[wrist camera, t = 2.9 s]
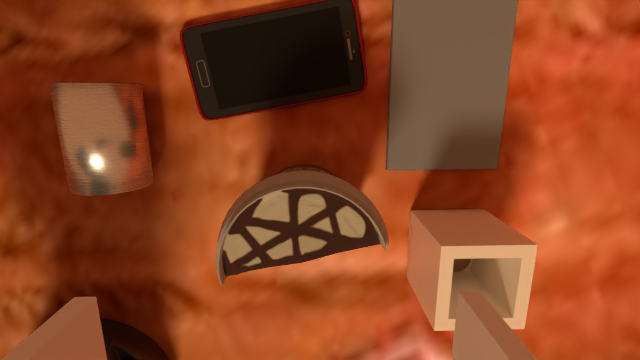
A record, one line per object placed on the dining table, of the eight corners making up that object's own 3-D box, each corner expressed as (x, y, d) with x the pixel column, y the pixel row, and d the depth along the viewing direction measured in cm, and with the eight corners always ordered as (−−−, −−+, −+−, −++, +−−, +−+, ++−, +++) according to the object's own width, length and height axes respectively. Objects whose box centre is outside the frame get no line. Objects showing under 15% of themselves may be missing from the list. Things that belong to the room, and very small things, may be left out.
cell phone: (180, 29, 29) (175, 27, 28) (354, -5, 28) (355, -8, 27) (204, 122, 30) (201, 123, 30) (368, 91, 30) (369, 91, 29)
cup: (406, 277, 34) (434, 330, 26) (410, 209, 32) (441, 246, 25) (476, 275, 34) (524, 328, 26) (483, 209, 33) (537, 244, 25)
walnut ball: (430, 262, 33) (442, 278, 30) (432, 232, 32) (444, 246, 29) (461, 261, 33) (476, 277, 30) (464, 232, 32) (479, 246, 29)
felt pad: (385, 168, 31) (387, 170, 31) (393, -13, 28) (394, -15, 27) (494, 167, 32) (497, 169, 31) (515, -13, 28) (519, -16, 27)
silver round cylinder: (165, 176, 31) (132, 195, 25) (98, 177, 31) (49, 196, 25) (154, 84, 29) (115, 82, 23) (83, 85, 29) (26, 83, 23)
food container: (358, 138, 31) (378, 158, 21) (370, 202, 32) (395, 249, 22) (224, 167, 31) (184, 200, 21) (242, 229, 33) (212, 287, 23)
